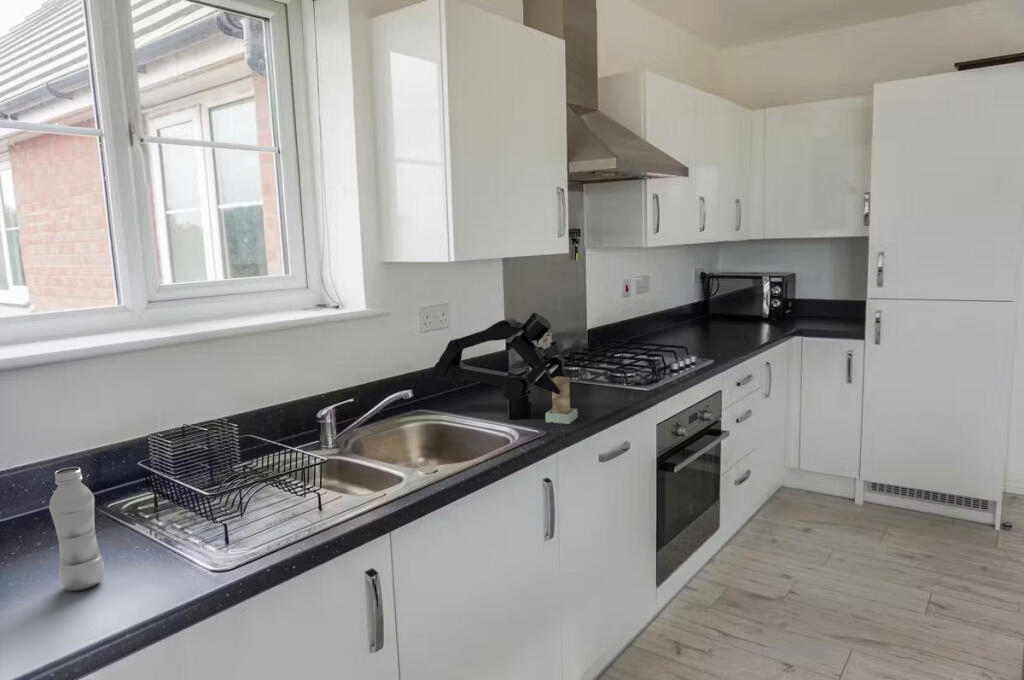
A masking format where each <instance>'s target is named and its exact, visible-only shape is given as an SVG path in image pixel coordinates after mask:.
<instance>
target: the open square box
mask: <svg viewBox="0 0 1024 680" xmlns="http://www.w3.org/2000/svg"><path fill="white" fill-rule="evenodd" d="M544 414H545V416H544V417H545V423H551V422H553V423H554V424H565V425H566V424H567V425H569V424H572V423H573V422H574V421H575V420H576V419H577V418H578V416H579V415H578V408H570V414H569V415H565V414H553V408H551V409H550V410H548V411H547V412H546V413H544ZM553 423H552V424H553Z"/></svg>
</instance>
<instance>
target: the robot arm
mask: <svg viewBox="0 0 1024 680" xmlns="http://www.w3.org/2000/svg"><path fill="white" fill-rule="evenodd" d="M551 329H552V324H551V322H550V321H549V319H547V318H545V317H544V316H542V315H540V314H539V313H537V312H533V313H532V314H530V316H529V318H528V319H527V320H526V321H525V322H518V321H517V320H516V319H514V318H511V317H509V318H504V319H502V320H499V321H497V322H495V323H493V324H491V325H490V326H489V327H487V328H486V329H484V330H480V331H478V332H475V333H471V334H468V335H465V336H463V337H459V338H454V339H451V340H450V341H449V342H448V343H447V345H446V348H445V350H444V351H443V352H442V353H441V355H440V357H439V360H438V362H436V363H435V365H434V367H433V372H434V374H435V377H436V379H439V380H442V381H443V380H445V381H446V380H449V381H450V380H459V379H462V380H466V381H472V382H478V383H483V384H488V385H493V386H498V387H502V388H503V389H505V390H504V391H503V396H504V399H505V400H506V401H507V413H506V415H507V418H508V417H509V418H508V419H509V420H520V419H521V420H522V419H531V415H532V401H531V399H530V398H529V395H530V394H531V392H532V390H533V389H534V388H535V387H538V388H541V389H543V390H544V389H545V390H547V391H550V392H551V393H552V392H554V393H556V394H560V393H561V391H560V390H559V388H558V387H557V385H556V384H555V383H554V381H553V380H552V379H553V378H555V377H556V376H557V377H568V376H567V374H566V372H565V366H564V365H565V358H564V357H563V356H562V355H561V354H562V353H564V352H565V350H564V348H563V347H564V345H563V343H561V341H558V340H557V339H556V340H552V342H551V343H550V347H548V348H545V349H544V348H543V347H537V346H536V345H535V344H534V343H533V342H532V341H539V340H540V339H541V338H542V337H543V336H544V335H545V334H546V333H548V332H549V331H550V330H551ZM519 333H520V334H519ZM518 334H519V335H518ZM511 338H512V339H511ZM507 339H511V340H510V341H507V342H505V352H511V351H512V350H514V351H515V352H516V354H518V356H519V357H520V358H521V359H522V363H523V365H526V364H527V365H528V367H529V366H530V367H531V368H532V370H531V371H530V372H529V369H520V368H519V367H518V368H517V367H514V368H512V369H510V370H508V371H507V372H505V371H498V370H494V369H488V368H483V367H477V366H471V365H467V364H465V363H464V362H463V361H462V359H463V358H462V356H463V350H464V349H468V348H471V347H474V346H478V345H480V344H483V343H487V342H493V341H503V340H507ZM552 356H553V357H552ZM571 386H572V384H571V381H570V380H569V388H570V387H571Z"/></svg>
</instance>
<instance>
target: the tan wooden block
mask: <svg viewBox="0 0 1024 680" xmlns="http://www.w3.org/2000/svg"><path fill="white" fill-rule="evenodd" d="M551 379H552V380H553V381H554V383H555V384H556V385H557V387H558V388H559V390H560V391H561V393H560V394H556V393H554V392H551V399H552V401H551V403H552V409H553V414H565V415H569V414H570V409H571V400H570V396H571V395H570V387H569V381H570V377H569V376H567V377H557V376H556V377H555V378H551Z"/></svg>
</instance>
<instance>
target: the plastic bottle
mask: <svg viewBox="0 0 1024 680" xmlns="http://www.w3.org/2000/svg"><path fill="white" fill-rule="evenodd" d="M54 478H55V480H54V483H55V485H57V487H56V489H55V491H54V492H53V494H52V496H51V498H50V499H49V505H48V507H49V512H50V514H51V517H52V521H53V524H54V527H55V531H56V536H57V540H58V546H59V547H58V548H59V549H58V550H59V568H58V572H59V574H58V576H59V581H60V583H61V585H62V587H63V588H65V589H66V590H68V591H73V592H74V591H75V592H76V591H81V590H86V589H90V588H91V587H94V586H96V585H97V584H99V583H100V582H101V581H102V579H103V577H104V576H105V563H104V559H103V557H102V554H101V552H100V548H99V545H98V540H97V536H96V526H95V523H96V522H95V506H96V505H95V496H94V493H93V492H92V491H91V489H90V488H89V487H87V485H85V484H84V483H83V482H82V480H83V475H82V469H81V467H78V466H71V467H66V468H60V469H59V470H56V471H55V472H54Z"/></svg>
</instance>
